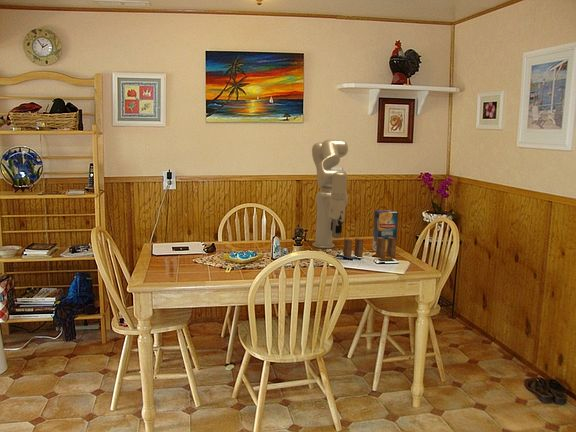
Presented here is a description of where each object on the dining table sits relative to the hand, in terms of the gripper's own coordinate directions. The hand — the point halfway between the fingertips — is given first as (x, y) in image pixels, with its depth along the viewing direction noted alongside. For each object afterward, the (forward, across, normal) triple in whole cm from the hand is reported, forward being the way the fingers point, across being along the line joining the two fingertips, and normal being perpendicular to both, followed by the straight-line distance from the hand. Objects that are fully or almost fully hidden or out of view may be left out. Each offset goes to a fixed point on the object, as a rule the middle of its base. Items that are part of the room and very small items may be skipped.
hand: (336, 231), depth 282 cm
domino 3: (+14, +1, +13) cm, 20 cm away
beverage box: (+15, -12, +36) cm, 41 cm away
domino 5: (+14, +1, +33) cm, 36 cm away
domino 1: (+3, 0, 0) cm, 3 cm away
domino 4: (+14, +1, +26) cm, 30 cm away
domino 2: (+14, +1, +7) cm, 16 cm away
